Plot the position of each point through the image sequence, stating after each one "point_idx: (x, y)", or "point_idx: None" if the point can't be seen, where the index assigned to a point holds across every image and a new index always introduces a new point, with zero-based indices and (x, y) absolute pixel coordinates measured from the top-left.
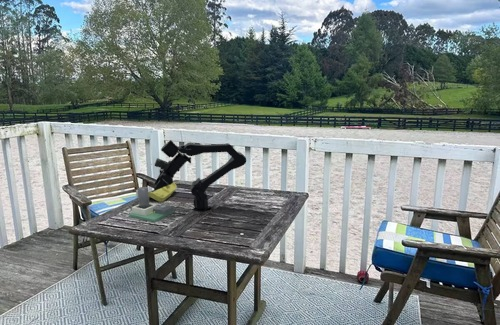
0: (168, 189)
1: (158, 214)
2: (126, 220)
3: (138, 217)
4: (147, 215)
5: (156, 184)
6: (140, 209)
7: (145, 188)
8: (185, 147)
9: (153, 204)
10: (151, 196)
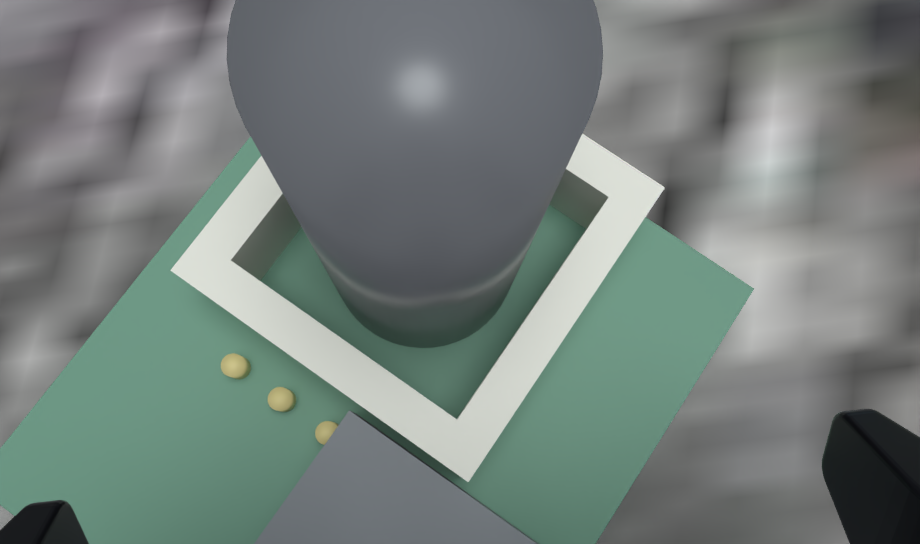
0: None
1: (230, 523)
2: (196, 23)
3: (224, 183)
4: (222, 325)
5: (839, 502)
6: (245, 178)
7: (376, 138)
8: None
9: (485, 401)
10: None
